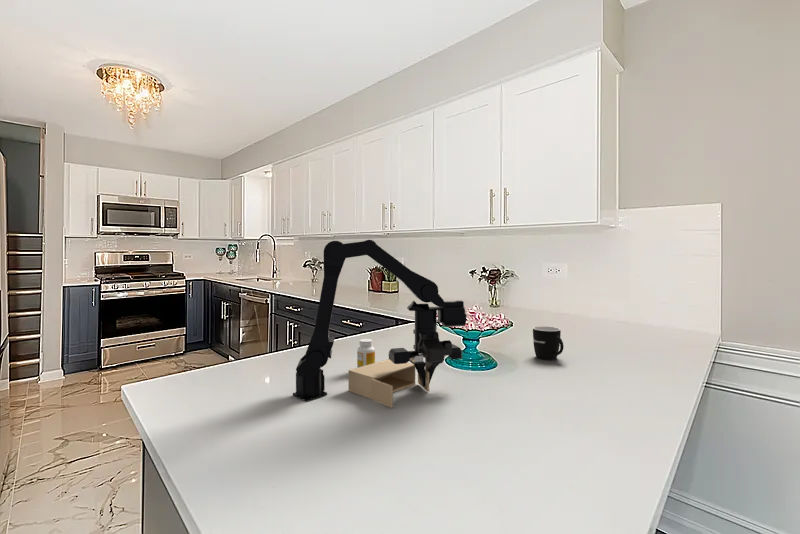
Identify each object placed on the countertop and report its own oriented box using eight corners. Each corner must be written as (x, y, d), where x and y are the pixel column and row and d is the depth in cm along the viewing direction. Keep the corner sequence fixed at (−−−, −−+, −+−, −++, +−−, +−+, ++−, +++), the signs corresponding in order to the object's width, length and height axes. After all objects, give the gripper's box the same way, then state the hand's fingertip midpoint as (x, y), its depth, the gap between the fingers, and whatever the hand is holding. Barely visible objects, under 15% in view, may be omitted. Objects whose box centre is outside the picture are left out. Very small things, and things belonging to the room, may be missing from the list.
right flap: (429, 391, 109) (429, 372, 109) (427, 391, 109) (427, 372, 109) (419, 382, 117) (419, 364, 116) (417, 382, 116) (417, 364, 116)
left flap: (371, 399, 104) (371, 379, 104) (373, 398, 104) (372, 378, 104) (391, 407, 98) (391, 386, 98) (393, 406, 99) (392, 385, 98)
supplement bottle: (376, 369, 131) (376, 338, 131) (373, 374, 126) (373, 342, 125) (359, 369, 131) (359, 338, 131) (355, 374, 126) (355, 341, 126)
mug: (527, 356, 147) (527, 327, 147) (547, 353, 151) (547, 325, 150) (551, 364, 136) (552, 333, 136) (572, 361, 139) (573, 331, 139)
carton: (373, 399, 105) (373, 377, 104) (348, 390, 111) (348, 370, 111) (415, 384, 116) (415, 364, 116) (390, 377, 123) (390, 358, 123)
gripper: (400, 335, 100) (400, 400, 101) (471, 330, 106) (471, 392, 106) (388, 327, 111) (388, 385, 111) (453, 323, 116) (453, 379, 117)
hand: (425, 386), depth 111 cm, fingers closed, pressing on right flap
